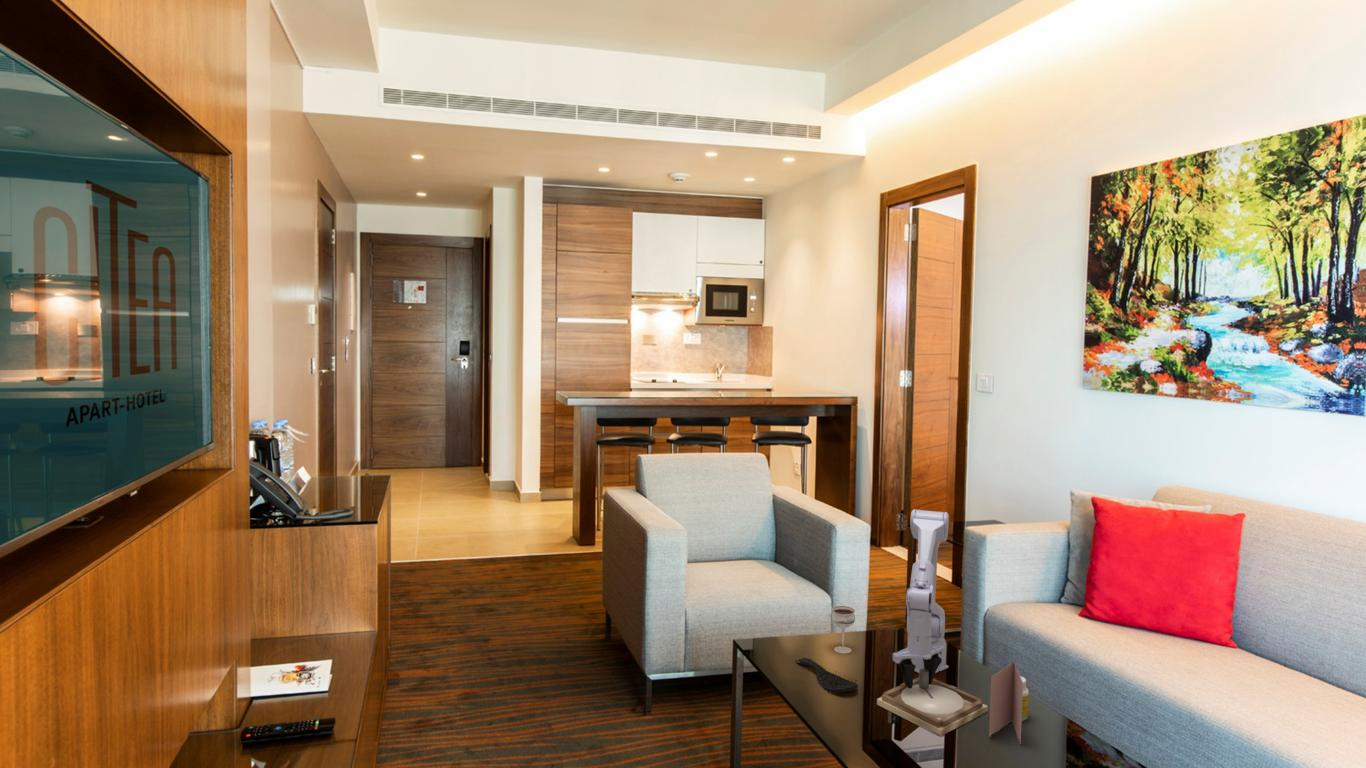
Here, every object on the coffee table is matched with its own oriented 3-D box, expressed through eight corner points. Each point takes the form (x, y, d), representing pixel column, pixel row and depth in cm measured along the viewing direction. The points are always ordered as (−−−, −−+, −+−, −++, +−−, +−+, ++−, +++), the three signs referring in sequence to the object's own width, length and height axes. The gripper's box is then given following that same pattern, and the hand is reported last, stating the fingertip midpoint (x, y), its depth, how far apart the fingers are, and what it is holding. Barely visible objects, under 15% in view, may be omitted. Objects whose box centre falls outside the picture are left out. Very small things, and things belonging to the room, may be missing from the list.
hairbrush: (808, 648, 238) (865, 679, 216) (809, 660, 238) (865, 693, 216) (784, 654, 234) (839, 686, 212) (785, 667, 235) (840, 700, 212)
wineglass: (830, 644, 246) (830, 605, 245) (853, 645, 246) (854, 606, 244) (831, 654, 239) (832, 614, 238) (855, 655, 239) (856, 615, 237)
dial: (973, 716, 201) (974, 694, 201) (912, 718, 200) (913, 697, 200) (949, 686, 216) (950, 667, 215) (893, 688, 215) (893, 669, 214)
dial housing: (924, 683, 221) (924, 672, 221) (987, 711, 206) (988, 700, 206) (876, 704, 210) (877, 693, 210) (940, 736, 195) (940, 724, 195)
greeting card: (1008, 719, 203) (1010, 660, 201) (1038, 731, 197) (1041, 670, 196) (985, 736, 195) (987, 675, 193) (1016, 749, 190) (1018, 686, 188)
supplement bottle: (1017, 724, 200) (1018, 685, 199) (999, 714, 205) (1000, 676, 204) (1032, 718, 203) (1034, 680, 202) (1014, 709, 208) (1016, 671, 207)
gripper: (904, 644, 206) (903, 696, 207) (953, 635, 211) (951, 686, 212) (888, 633, 212) (887, 684, 214) (935, 625, 217) (934, 674, 219)
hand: (918, 684), depth 213 cm, fingers open, 5 cm apart
